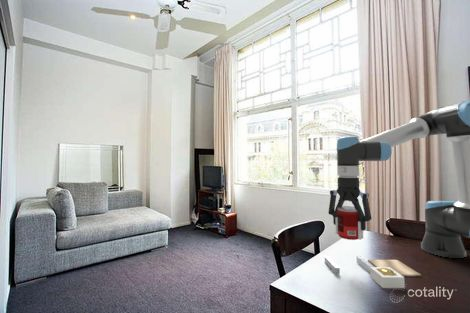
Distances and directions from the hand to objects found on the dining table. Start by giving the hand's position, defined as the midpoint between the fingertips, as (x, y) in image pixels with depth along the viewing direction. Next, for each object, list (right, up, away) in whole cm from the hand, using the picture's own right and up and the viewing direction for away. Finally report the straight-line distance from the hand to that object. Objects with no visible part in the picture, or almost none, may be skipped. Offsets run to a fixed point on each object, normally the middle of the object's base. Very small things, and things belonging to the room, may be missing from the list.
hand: (349, 235), depth 88 cm
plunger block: (+8, -12, -10) cm, 18 cm away
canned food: (0, -1, 0) cm, 1 cm away
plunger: (+8, -11, -10) cm, 17 cm away
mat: (+17, -12, 0) cm, 21 cm away
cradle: (0, -12, 0) cm, 12 cm away
